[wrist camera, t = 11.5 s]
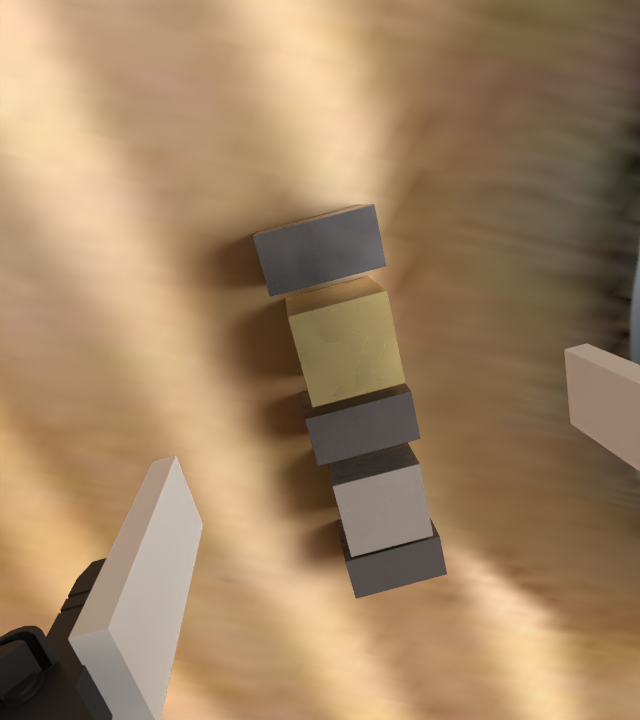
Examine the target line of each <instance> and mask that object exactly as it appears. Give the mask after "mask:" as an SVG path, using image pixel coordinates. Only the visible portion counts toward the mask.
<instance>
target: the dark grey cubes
mask: <svg viewBox="0 0 640 720" xmlns="http://www.w3.org/2000/svg"><path fill="white" fill-rule="evenodd" d="M253 239H254V243H255V246H256V250H257V253H258V257H259V260H260V264H261V267H262V271H263V274H264V278H265V281H266V285H267V288H268V292H269V296H274V295H278V294H282V293H286V292H289V291H293V290H297V289H301V288H305V287H308V286H312V285H316V284H320V283H324V282H327V281H331V280H335V279H339V278H343V277H346V276H350V275H354V274H358V273H362V272H365V271H369V270H373V269H377V268H381V267H384V266H386V262H385V257H384V252H383V247H382V242H381V237H380V232H379V226H378V221H377V216H376V211H375V206H374V204H371V205H357V206H353V207H349V208H345V209H342V210H338V211H334V212H330V213H326V214H322V215H319V216H315V217H311V218H307V219H303V220H299V221H296V222H292V223H288V224H284V225H280V226H277V227H273V228H269V229H265V230H261V231H257V232H255V234H254V235H253ZM301 396H302V403H303V410H304V417H305V422H306V425H307V429H308V432H309V436H310V439H311V443H312V446H313V450H314V453H315V457H316V460H317V464H318V466H320V465H324V464H328V463H331V462H335V461H339V460H343V459H346V458H350V457H354V456H358V455H361V454H365V453H369V452H373V451H376V450H380V449H384V448H388V447H391V446H395V445H399V444H403V443H406V442H410V441H414V440H417V439H420V435H419V430H418V424H417V419H416V414H415V409H414V404H413V399H412V394H411V391H410V389H409V388H408V387H407V385H406V384H405V383H403V384H399V385H396V386H392V387H388V388H384V389H380V390H377V391H373V392H369V393H365V394H362V395H358V396H354V397H350V398H347V399H343V400H339V401H335V402H332V403H328V404H324V405H320V406H317V407H312V403H311V399H310V396H309V392H308V391H304V392H301ZM430 521H431V526H432V531H433V536H430V537H426V538H422V539H419V540H415V541H411V542H407V543H403V544H399V545H395V546H392V547H388V548H384V549H380V550H376V551H372V552H369V553H365V554H361V555H357V556H353V557H351V553H350V550H349V546H348V542H347V538H346V535H345V531H344V527H343V523H342V520H338V521H337V522H338V527H339V532H340V537H341V542H342V547H343V552H344V557H345V562H346V566H347V569H348V573H349V576H350V580H351V583H352V587H353V590H354V594H355V597H356V599H357V598H360V597H364V596H368V595H371V594H375V593H379V592H382V591H386V590H390V589H393V588H397V587H401V586H405V585H408V584H412V583H416V582H419V581H423V580H427V579H430V578H434V577H438V576H441V575H445V574H447V572H446V567H445V562H444V556H443V551H442V546H441V541H440V536H439V534H438V532H437V530H436V528H435V526H434V524H433V522H432V520H431V518H430Z"/></svg>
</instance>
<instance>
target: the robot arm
mask: <svg viewBox="0 0 640 720" xmlns="http://www.w3.org/2000/svg"><path fill="white" fill-rule="evenodd" d="M564 351H565V363H566V374H567V386H568V398H569V410H570V422H571V424H572V425H574V426H575V427H577V428H578V429H580V430H581V431H582V432H584V433H585V434H587V435H588V436H590V437H591V438H593V439H594V440H595V441H597V442H598V443H600V444H601V445H603V446H604V447H605V448H607V449H608V450H610V451H611V452H613V453H614V454H616V455H617V456H618V457H620V458H621V459H623V460H624V461H626V462H627V463H629V464H630V465H631V466H633V467H634V468H636V469H637V470H639V471H640V365H638V364H636V363H633V362H631V361H628V360H626V359H623V358H621V357H618V356H616V355H613V354H611V353H609V352H606V351H604V350H601V349H599V348H596V347H594V346H591V345H589V344H583V345H580V346H576V347H572V348H569V349H565V350H564ZM202 527H203V523H202V521H201V518H200V516H199V513H198V511H197V508H196V505H195V503H194V500H193V498H192V495H191V493H190V490H189V488H188V485H187V482H186V480H185V477H184V475H183V472H182V470H181V467H180V465H179V462H178V460H177V457H176V455H175V456H171V457H167V458H164V459H160V460H156V461H153V462H152V464H151V466H150V468H149V470H148V472H147V474H146V477H145V479H144V481H143V483H142V485H141V487H140V489H139V491H138V493H137V495H136V497H135V500H134V502H133V504H132V506H131V508H130V510H129V512H128V514H127V516H126V518H125V521H124V523H123V525H122V527H121V529H120V531H119V533H118V535H117V537H116V539H115V542H114V544H113V546H112V548H111V550H110V552H109V554H108V556H107V558H105V559H101V560H97V561H94V562H92V563H91V564H90V565H89V566H88V567H87V569H86V570H85V571H84V572H83V573H82V574H81V575H80V576H79V577H78V578H77V580H76V582H75V584H74V586H73V587H72V589H71V591H70V593H69V595H68V599H66V601H65V602H64V604H63V606H62V608H61V613H59V614H58V616H57V618H56V619H55V621H54V623H53V625H52V627H51V629H50V631H49V633H48V635H47V636H46V637H45V635H44V633H43V631H42V630H41V629H40V628H38V627H37V626H23V627H21V628H18V629H15V630H12V631H10V632H8V633H6V634H5V635H3V636H1V637H0V720H112V719H113V720H161V716H162V711H163V707H164V702H165V697H166V693H167V688H168V683H169V679H170V674H171V670H172V665H173V660H174V656H175V651H176V647H177V642H178V637H179V633H180V628H181V624H182V619H183V614H184V610H185V605H186V601H187V596H188V591H189V587H190V582H191V578H192V573H193V568H194V564H195V559H196V554H197V550H198V545H199V541H200V536H201V531H202Z"/></svg>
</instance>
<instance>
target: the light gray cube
mask: <svg viewBox="0 0 640 720" xmlns="http://www.w3.org/2000/svg"><path fill="white" fill-rule="evenodd" d="M328 466H329V471H330V476H331V481H332V485H333V489H334V493H335V497H336V501H337V504H338V508H339V512H340V516H341V519H342V523H343V527H344V531H345V535H346V538H347V542H348V546H349V550H350V553H351V557H353V556H357V555H361V554H365V553H369V552H372V551H376V550H380V549H384V548H388V547H392V546H395V545H399V544H403V543H407V542H411V541H415V540H419V539H422V538H426V537H430V536H433V531H432V526H431V521H430V516H429V510H428V505H427V500H426V495H425V489H424V484H423V479H422V474H421V468H420V464H419V462H418V460H417V458H416V457H415V455H414V453H413V451H412V449H411V448H410V446H409V444H408V442H406V443H403V444H399V445H395V446H391V447H388V448H384V449H380V450H376V451H373V452H369V453H365V454H361V455H358V456H354V457H350V458H346V459H343V460H339V461H335V462H331V463H328Z"/></svg>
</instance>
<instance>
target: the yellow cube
mask: <svg viewBox="0 0 640 720" xmlns="http://www.w3.org/2000/svg"><path fill="white" fill-rule="evenodd" d="M285 299H286V307H287V316H288V320H289V324H290V327H291V331H292V334H293V338H294V342H295V345H296V349H297V352H298V356H299V360H300V363H301V367H302V371H303V374H304V378H305V381H306V385H307V389H308V392H309V396H310V399H311V403H312V407H317V406H320V405H324V404H328V403H332V402H335V401H339V400H343V399H347V398H350V397H354V396H358V395H362V394H365V393H369V392H373V391H377V390H380V389H384V388H388V387H392V386H396V385H399V384H403V383H405V379H404V374H403V369H402V364H401V359H400V354H399V349H398V344H397V339H396V334H395V329H394V324H393V319H392V314H391V309H390V304H389V299H388V294H387V291H386V290H385V289H384V288H382V287H381V286H380V285H378V284H377V283H376V282H374V281H373V280H372V279H370V278H369V277H364V278H360V279H356V280H352V281H349V282H345V283H341V284H337V285H333V286H330V287H326V288H322V289H318V290H314V291H311V292H307V293H303V294H299V295H295V296H292V297H288V298H285Z"/></svg>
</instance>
